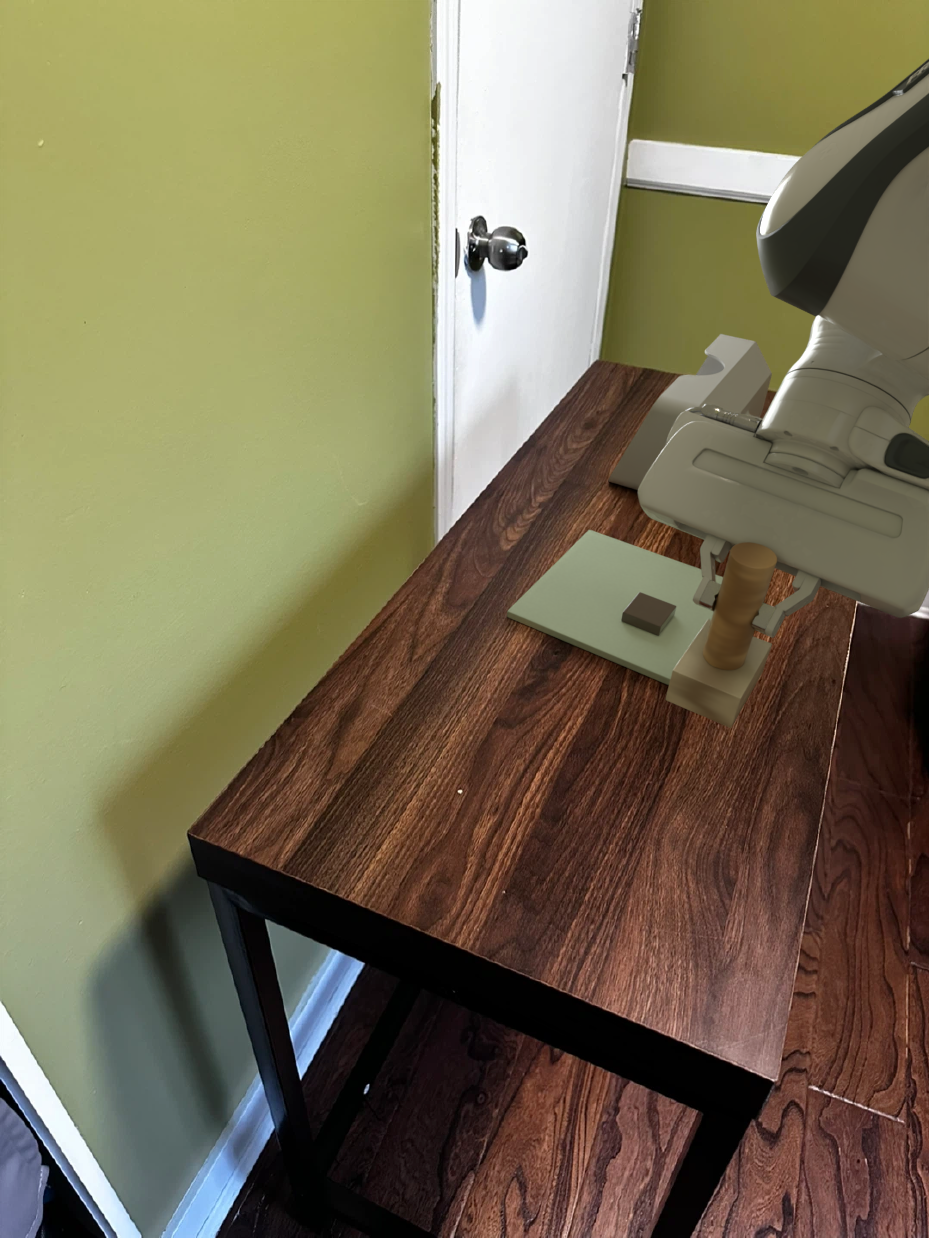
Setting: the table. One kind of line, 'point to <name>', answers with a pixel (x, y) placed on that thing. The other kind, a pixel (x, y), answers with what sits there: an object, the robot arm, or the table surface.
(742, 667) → the stamp
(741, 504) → the robot arm
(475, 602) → the table surface
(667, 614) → the brown flat square block
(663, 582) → the mat
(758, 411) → the grey stepped block
